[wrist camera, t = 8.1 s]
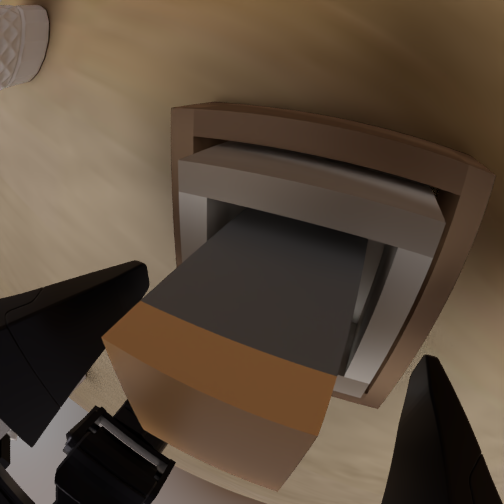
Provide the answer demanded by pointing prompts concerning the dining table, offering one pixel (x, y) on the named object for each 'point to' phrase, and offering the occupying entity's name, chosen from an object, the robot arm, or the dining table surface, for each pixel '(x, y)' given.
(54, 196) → the dining table surface
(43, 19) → the white cup
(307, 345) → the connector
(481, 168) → the walled box
